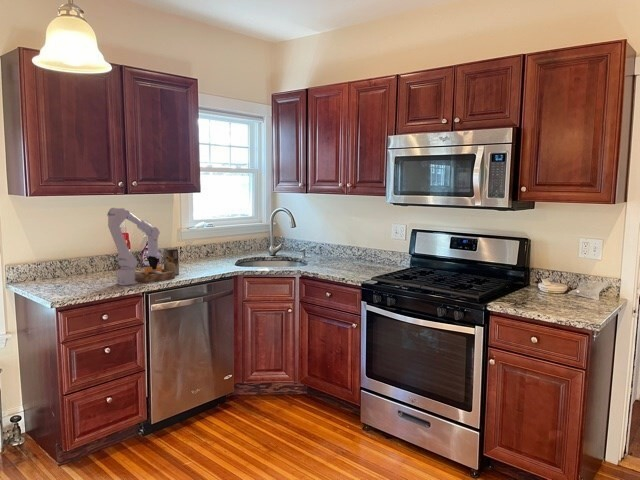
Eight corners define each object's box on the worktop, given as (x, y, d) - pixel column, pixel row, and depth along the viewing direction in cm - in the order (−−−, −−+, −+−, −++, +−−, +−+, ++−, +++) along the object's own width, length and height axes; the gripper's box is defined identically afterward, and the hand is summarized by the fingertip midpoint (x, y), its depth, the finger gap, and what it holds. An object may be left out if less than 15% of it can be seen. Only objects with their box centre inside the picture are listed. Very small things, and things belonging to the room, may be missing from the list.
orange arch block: (145, 277, 281) (145, 268, 281) (144, 277, 282) (144, 267, 282) (161, 275, 289) (161, 266, 288) (160, 275, 290) (160, 265, 289)
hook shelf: (143, 282, 274) (143, 274, 273) (132, 279, 283) (132, 271, 283) (174, 278, 288) (174, 270, 288) (163, 275, 298) (163, 267, 297)
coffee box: (179, 272, 306) (178, 248, 304) (179, 274, 300) (178, 249, 298) (164, 273, 304) (163, 248, 302) (163, 275, 298) (163, 250, 296)
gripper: (165, 247, 281) (165, 269, 283) (153, 245, 291) (153, 266, 293) (153, 248, 276) (154, 271, 278) (142, 246, 286) (143, 268, 288)
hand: (153, 269), depth 285 cm, fingers closed on orange arch block, 2 cm apart
